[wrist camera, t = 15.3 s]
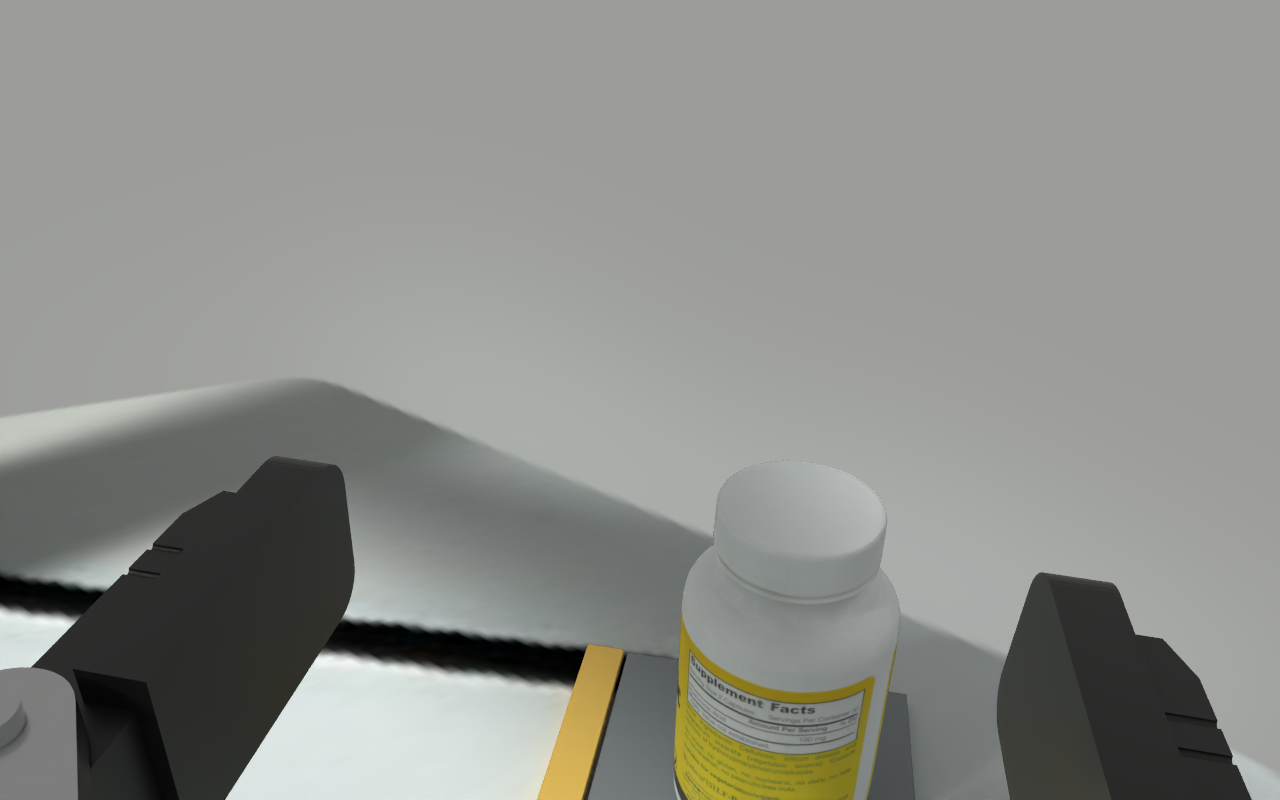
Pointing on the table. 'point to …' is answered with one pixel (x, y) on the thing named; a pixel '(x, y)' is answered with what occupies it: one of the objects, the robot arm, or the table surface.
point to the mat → (665, 734)
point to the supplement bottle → (786, 640)
